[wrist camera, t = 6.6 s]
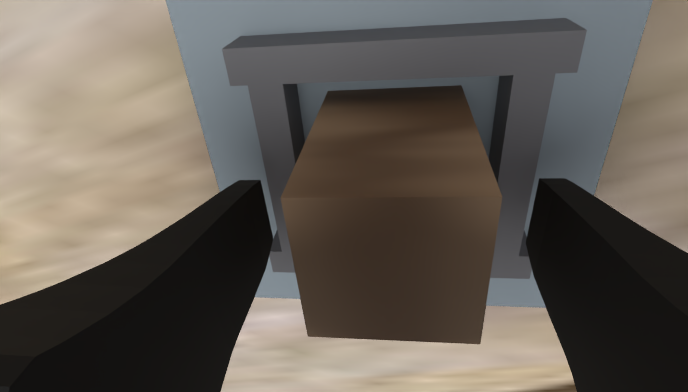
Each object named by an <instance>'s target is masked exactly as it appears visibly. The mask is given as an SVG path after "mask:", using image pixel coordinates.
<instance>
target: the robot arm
mask: <svg viewBox="0 0 688 392" xmlns="http://www.w3.org/2000/svg"><path fill="white" fill-rule="evenodd" d="M272 242H273V235H272V230H271V226H270V221H269V216H268V212H267V207H266V202H265V198H264V193H263V189H262V184H261V180H239V181H237V182H235V183H233V184H232V185H230V186H228V187H227V188H225V189H224V190H222V191H221V192H220V193H218V194H217V195H215V196H214V197H212V198H211V199H209V200H208V201H207V202H205V203H204V204H202V205H201V206H199V207H198V208H196V209H195V210H193V211H192V212H191V213H189V214H188V215H186V216H185V217H183V218H182V219H180V220H179V221H177V222H175V223H174V224H172V225H171V226H169V227H167V228H166V229H164V230H163V231H161V232H160V233H158V234H156V235H155V236H153V237H152V238H150V239H148V240H147V241H145V242H143V243H141V244H140V245H138V246H136V247H134V248H132V249H130V250H129V251H127V252H125V253H123V254H121V255H119V256H117V257H115V258H113V259H111V260H109V261H107V262H105V263H103V264H101V265H99V266H96V267H94V268H92V269H90V270H87V271H85V272H83V273H81V274H78V275H76V276H74V277H72V278H70V279H67V280H65V281H63V282H60V283H58V284H55V285H53V286H50V287H48V288H45V289H43V290H40V291H37V292H35V293H32V294H29V295H27V296H24V297H21V298H18V299H16V300H13V301H10V302H7V303H4V304H1V305H0V392H220V391H221V388H222V384H223V381H224V378H225V374H226V371H227V367H228V364H229V361H230V357H231V354H232V351H233V348H234V346H235V343H236V340H237V338H238V335H239V333H240V330H241V328H242V326H243V323H244V321H245V318H246V316H247V314H248V311H249V309H250V307H251V304H252V302H253V299H254V297H255V295H256V292H257V290H258V287H259V285H260V282H261V280H262V277H263V275H264V272H265V270H266V266H267V262H268V259H269V255H270V251H271V247H272ZM526 246H527V251H528V255H529V260H530V264H531V268H532V272H533V275H534V278H535V281H536V284H537V286H538V289H539V291H540V294H541V296H542V299H543V301H544V304H545V306H546V309H547V311H548V314H549V316H550V318H551V321H552V323H553V326H554V328H555V331H556V333H557V336H558V338H559V341H560V343H561V345H562V348H563V350H564V353H565V355H566V358H567V361H568V364H569V367H570V369H571V372H572V376H573V379H574V383H575V386H576V390H577V392H688V253H687V252H685V251H683V250H681V249H679V248H677V247H676V246H674V245H672V244H670V243H669V242H667V241H665V240H664V239H662V238H660V237H658V236H657V235H655V234H653V233H651V232H650V231H648V230H646V229H645V228H643V227H642V226H640V225H638V224H637V223H635V222H633V221H632V220H630V219H629V218H627V217H626V216H624V215H622V214H621V213H619V212H618V211H616V210H615V209H613V208H612V207H610V206H609V205H607V204H606V203H604V202H603V201H601V200H600V199H598V198H596V197H595V196H593V195H592V194H590V193H589V192H587V191H586V190H584V189H583V188H581V187H580V186H578V185H576V184H575V183H573V182H571V181H569V180H568V179H566V178H539V181H538V186H537V191H536V196H535V200H534V205H533V210H532V215H531V219H530V224H529V229H528V234H527V238H526Z"/></svg>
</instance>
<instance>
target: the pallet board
mask: <svg viewBox="0 0 688 392" xmlns="http://www.w3.org/2000/svg"><path fill="white" fill-rule="evenodd" d="M652 1H653V0H166V4H167V7H168V11H169V14H170V18H171V21H172V25H173V28H174V32H175V35H176V39H177V42H178V46H179V49H180V53H181V56H182V60H183V63H184V67H185V70H186V74H187V78H188V81H189V85H190V88H191V92H192V95H193V99H194V102H195V106H196V109H197V113H198V116H199V120H200V123H201V127H202V130H203V134H204V137H205V141H206V144H207V148H208V151H209V155H210V159H211V162H212V166H213V169H214V173H215V176H216V180H217V183H218V187H219V190H220V192H221V191H222V190H224V189H225V188H227V187H228V186H230V185H232V184H233V183H235V182H237V181H239V180H261V184H262V189H263V193H264V198H265V202H266V207H267V212H268V216H269V221H270V226H271V230H272V235H273V242H272V247H271V251H270V255H269V259H268V262H267V266H266V270H265V272H264V275H263V277H262V280H261V282H260V285H259V287H258V290H257V292H256V295H255V297H264V298H292V299H300V294H299V289H298V284H297V279H296V274H295V269H294V264H293V258H292V253H291V248H290V243H289V238H288V233H287V228H286V223H285V218H284V213H283V208H282V203H281V196H282V193H283V191H284V189H285V187H286V184H287V182H288V180H289V178H290V175H291V173H292V171H293V169H294V166H295V164H296V162H297V160H298V157H299V155H300V153H301V151H302V148H303V146H304V144H305V142H306V139H307V137H308V135H309V132H310V130H311V128H312V126H313V123H314V121H315V119H316V117H317V114H318V112H319V110H320V108H321V105H322V103H323V101H324V99H325V96H326V94H327V92H328V91H336V90H360V89H384V88H408V87H432V86H456V85H461V86H462V88H463V91H464V94H465V96H466V99H467V102H468V105H469V107H470V110H471V113H472V116H473V118H474V121H475V124H476V126H477V129H478V132H479V135H480V137H481V140H482V143H483V146H484V148H485V151H486V154H487V157H488V159H489V162H490V165H491V167H492V170H493V173H494V176H495V178H496V181H497V184H498V187H499V189H500V192H501V195H502V202H501V209H500V216H499V222H498V229H497V236H496V242H495V249H494V256H493V262H492V269H491V275H490V282H489V289H488V295H487V302H486V305H487V306H515V307H543V308H546V306H545V304H544V301H543V299H542V296H541V294H540V291H539V289H538V286H537V284H536V281H535V278H534V275H533V272H532V268H531V264H530V260H529V255H528V251H527V246H526V238H527V234H528V229H529V224H530V219H531V215H532V210H533V205H534V200H535V196H536V191H537V186H538V181H539V178H566V179H568V180H569V181H571V182H573V183H575V184H576V185H578V186H580V187H581V188H583V189H584V190H586V191H587V192H589V193H590V194H592V195H593V196H594V193H595V190H596V187H597V183H598V180H599V177H600V174H601V170H602V167H603V164H604V160H605V157H606V154H607V150H608V147H609V144H610V140H611V137H612V134H613V130H614V127H615V124H616V120H617V117H618V114H619V110H620V107H621V104H622V100H623V97H624V94H625V90H626V87H627V84H628V81H629V77H630V74H631V71H632V67H633V64H634V61H635V57H636V54H637V51H638V47H639V44H640V41H641V37H642V34H643V31H644V27H645V24H646V21H647V17H648V14H649V11H650V7H651V4H652Z"/></svg>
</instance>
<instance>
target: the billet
mask: <svg viewBox="0 0 688 392" xmlns="http://www.w3.org/2000/svg"><path fill="white" fill-rule="evenodd" d="M501 202H502V195H501V192H500V189H499V187H498V184H497V181H496V178H495V176H494V173H493V170H492V167H491V165H490V162H489V159H488V157H487V154H486V151H485V148H484V146H483V143H482V140H481V137H480V135H479V132H478V129H477V126H476V124H475V121H474V118H473V116H472V113H471V110H470V107H469V105H468V102H467V99H466V96H465V94H464V91H463V88H462V86H461V85H456V86H432V87H408V88H384V89H360V90H336V91H328V92H327V94H326V96H325V99H324V101H323V103H322V105H321V108H320V110H319V112H318V114H317V117H316V119H315V121H314V123H313V126H312V128H311V130H310V132H309V135H308V137H307V139H306V142H305V144H304V146H303V148H302V151H301V153H300V155H299V157H298V160H297V162H296V164H295V166H294V169H293V171H292V173H291V175H290V178H289V180H288V182H287V184H286V187H285V189H284V191H283V193H282V196H281V203H282V208H283V213H284V218H285V223H286V228H287V233H288V238H289V243H290V248H291V253H292V258H293V264H294V269H295V274H296V279H297V284H298V289H299V294H300V299H301V304H302V309H303V314H304V319H305V324H306V329H307V334H308V336H309V337H331V338H353V339H376V340H398V341H420V342H443V343H465V344H480V342H481V335H482V329H483V322H484V315H485V309H486V302H487V295H488V289H489V282H490V275H491V269H492V262H493V256H494V249H495V242H496V236H497V229H498V222H499V216H500V209H501Z"/></svg>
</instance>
